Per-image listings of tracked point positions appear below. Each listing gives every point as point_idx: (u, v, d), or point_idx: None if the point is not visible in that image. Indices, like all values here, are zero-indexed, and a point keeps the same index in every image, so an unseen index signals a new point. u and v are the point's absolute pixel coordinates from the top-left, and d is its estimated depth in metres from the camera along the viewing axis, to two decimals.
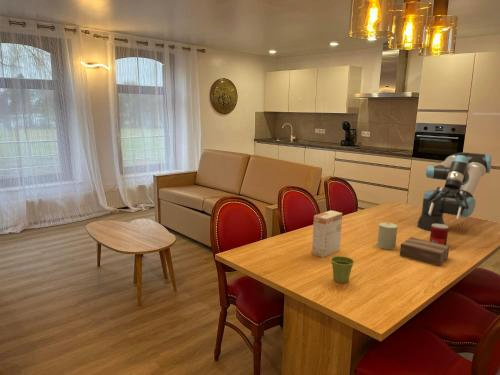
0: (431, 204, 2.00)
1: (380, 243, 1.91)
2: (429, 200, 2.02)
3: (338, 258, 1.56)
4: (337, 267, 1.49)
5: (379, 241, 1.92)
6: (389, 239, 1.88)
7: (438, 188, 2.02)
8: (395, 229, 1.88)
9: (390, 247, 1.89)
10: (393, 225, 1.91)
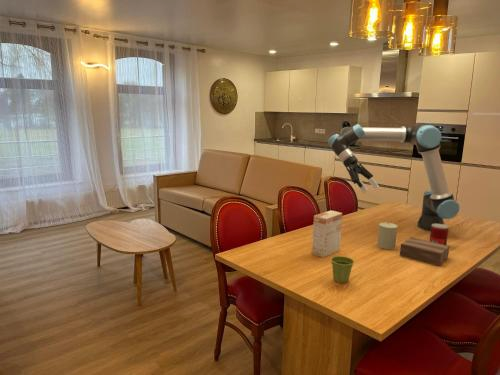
0: None
1: (380, 243, 1.91)
2: None
3: (338, 258, 1.56)
4: (337, 267, 1.49)
5: (379, 241, 1.92)
6: (389, 239, 1.88)
7: None
8: (395, 229, 1.88)
9: (390, 247, 1.89)
10: (393, 225, 1.91)
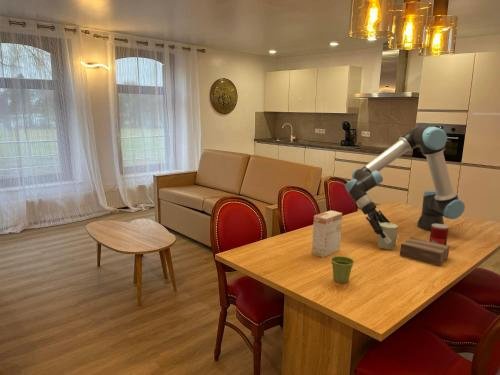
0: None
1: (380, 243, 1.91)
2: None
3: (338, 258, 1.56)
4: (337, 267, 1.49)
5: (379, 241, 1.92)
6: None
7: None
8: (395, 229, 1.88)
9: (390, 247, 1.89)
10: (393, 225, 1.91)
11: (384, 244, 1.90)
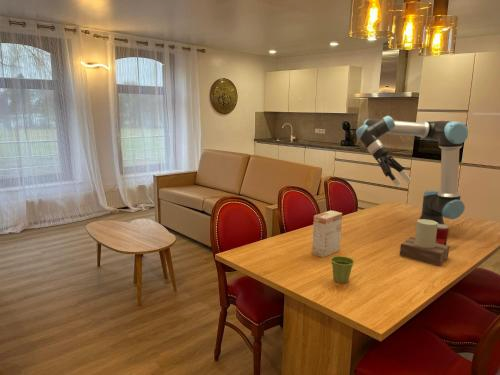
0: (400, 174, 1.95)
1: (418, 241, 1.77)
2: None
3: (338, 258, 1.56)
4: (337, 267, 1.49)
5: (417, 239, 1.78)
6: (429, 237, 1.74)
7: None
8: (435, 226, 1.74)
9: (430, 246, 1.75)
10: (433, 222, 1.77)
11: (423, 242, 1.76)
